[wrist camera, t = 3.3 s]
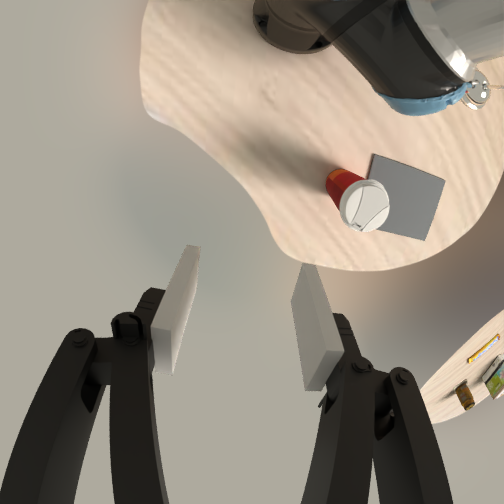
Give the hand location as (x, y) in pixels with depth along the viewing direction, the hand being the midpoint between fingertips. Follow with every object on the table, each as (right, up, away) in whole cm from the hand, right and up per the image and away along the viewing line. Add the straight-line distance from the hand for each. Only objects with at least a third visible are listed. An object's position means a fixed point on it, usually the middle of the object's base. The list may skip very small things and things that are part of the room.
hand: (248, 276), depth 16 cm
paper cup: (+16, +14, +32) cm, 39 cm away
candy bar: (+88, -35, +57) cm, 110 cm away
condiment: (+90, -57, +68) cm, 127 cm away
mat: (+30, +11, +33) cm, 46 cm away
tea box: (+110, -49, +64) cm, 136 cm away
